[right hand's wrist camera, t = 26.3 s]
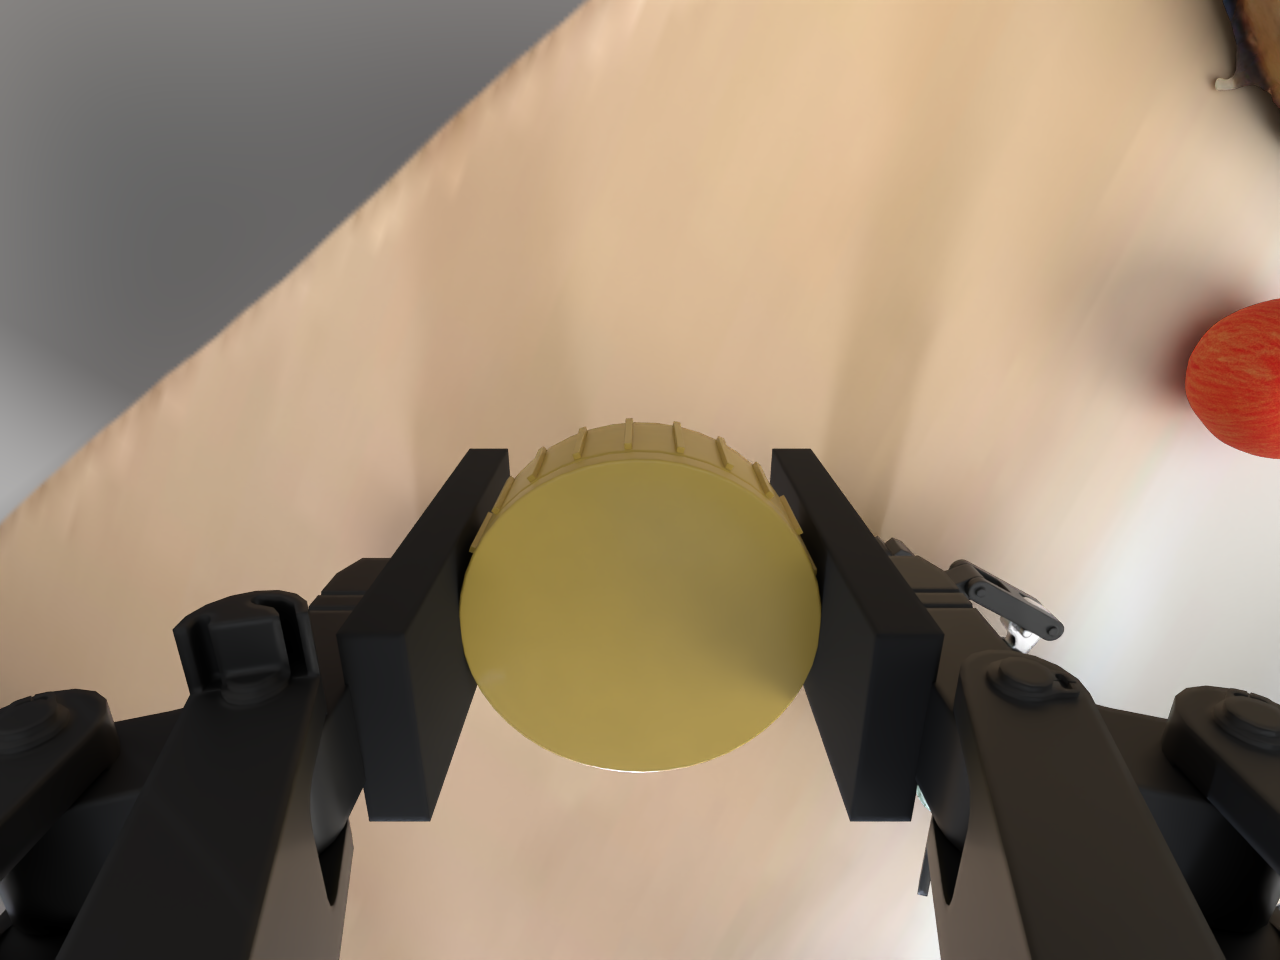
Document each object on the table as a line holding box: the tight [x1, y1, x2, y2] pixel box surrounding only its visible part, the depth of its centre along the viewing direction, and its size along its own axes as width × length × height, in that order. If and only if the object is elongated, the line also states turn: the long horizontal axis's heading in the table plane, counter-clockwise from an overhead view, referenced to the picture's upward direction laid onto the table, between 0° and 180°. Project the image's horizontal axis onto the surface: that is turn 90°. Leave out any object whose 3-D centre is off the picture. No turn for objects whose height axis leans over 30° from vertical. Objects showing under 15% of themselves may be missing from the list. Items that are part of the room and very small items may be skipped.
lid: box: [459, 418, 821, 772], centre depth 11 cm, size 5×5×2 cm
